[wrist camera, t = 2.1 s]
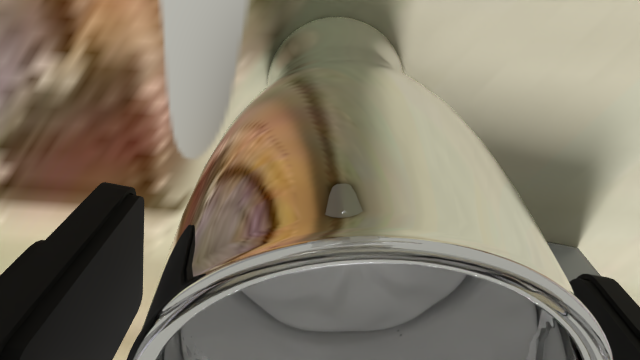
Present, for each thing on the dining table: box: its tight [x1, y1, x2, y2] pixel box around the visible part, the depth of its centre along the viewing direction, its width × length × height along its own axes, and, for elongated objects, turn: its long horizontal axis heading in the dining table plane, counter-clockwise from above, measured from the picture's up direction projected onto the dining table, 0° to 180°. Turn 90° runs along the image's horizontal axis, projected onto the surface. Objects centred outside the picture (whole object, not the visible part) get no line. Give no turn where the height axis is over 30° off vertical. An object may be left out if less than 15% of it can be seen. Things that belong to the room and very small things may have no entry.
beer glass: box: [127, 17, 614, 360], centre depth 12 cm, size 7×7×15 cm
